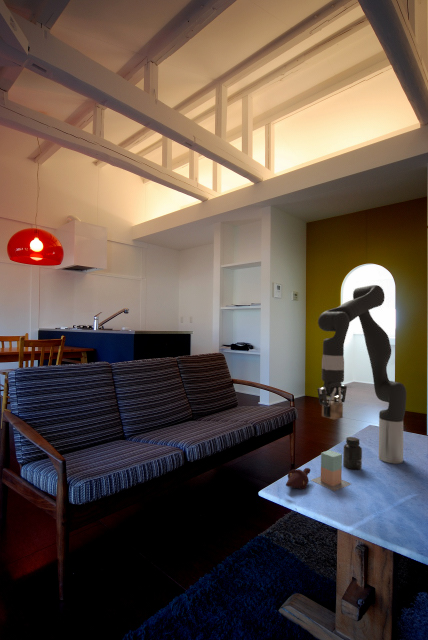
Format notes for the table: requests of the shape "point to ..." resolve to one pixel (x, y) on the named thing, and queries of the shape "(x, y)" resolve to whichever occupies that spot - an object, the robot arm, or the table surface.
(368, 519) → the table surface
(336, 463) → the teal brick
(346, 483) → the plate
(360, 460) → the supplement bottle
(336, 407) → the walnut brick
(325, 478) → the base brick
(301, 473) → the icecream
